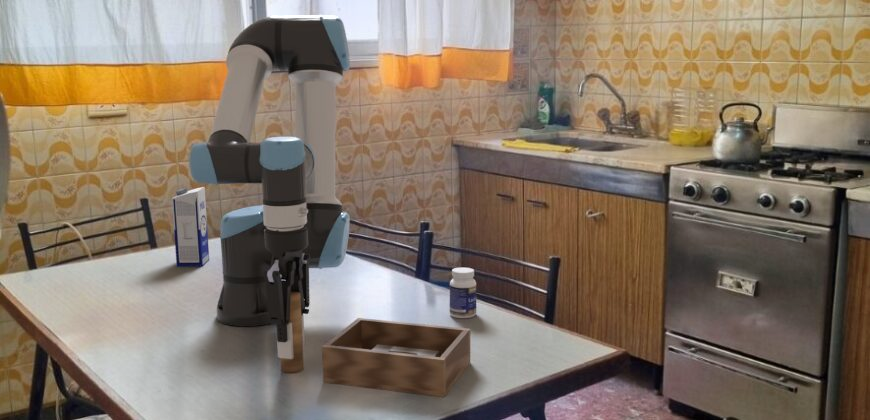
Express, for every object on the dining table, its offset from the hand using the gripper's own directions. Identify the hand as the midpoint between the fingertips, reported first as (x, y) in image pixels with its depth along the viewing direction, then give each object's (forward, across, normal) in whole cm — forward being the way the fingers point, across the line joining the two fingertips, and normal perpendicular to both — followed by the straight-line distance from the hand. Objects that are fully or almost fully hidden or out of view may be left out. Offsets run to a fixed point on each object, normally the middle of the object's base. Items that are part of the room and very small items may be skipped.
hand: (291, 353), depth 159 cm
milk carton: (+3, +59, +59) cm, 84 cm away
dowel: (+3, 0, 0) cm, 3 cm away
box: (+3, +4, -19) cm, 20 cm away
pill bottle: (+3, +38, -21) cm, 44 cm away
